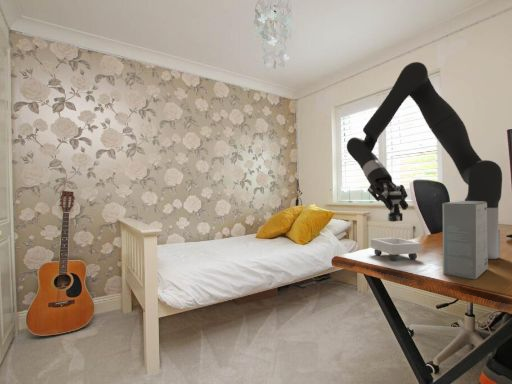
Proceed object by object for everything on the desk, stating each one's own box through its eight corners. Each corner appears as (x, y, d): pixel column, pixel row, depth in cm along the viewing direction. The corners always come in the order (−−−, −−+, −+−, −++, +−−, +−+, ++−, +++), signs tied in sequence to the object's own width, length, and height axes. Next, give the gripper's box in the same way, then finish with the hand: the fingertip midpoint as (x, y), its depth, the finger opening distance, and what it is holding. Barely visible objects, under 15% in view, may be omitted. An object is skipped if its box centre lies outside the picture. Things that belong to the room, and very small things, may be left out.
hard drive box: (456, 263, 88) (457, 200, 87) (488, 269, 82) (488, 201, 82) (441, 273, 77) (442, 202, 77) (476, 280, 72) (476, 203, 71)
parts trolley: (397, 252, 103) (397, 237, 103) (420, 260, 92) (421, 243, 92) (370, 254, 100) (370, 238, 100) (391, 262, 90) (392, 244, 89)
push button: (394, 222, 92) (394, 192, 92) (380, 220, 97) (380, 192, 96) (407, 221, 95) (407, 191, 95) (392, 219, 100) (393, 191, 99)
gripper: (364, 166, 101) (386, 201, 90) (397, 167, 104) (423, 200, 93) (355, 181, 106) (375, 215, 95) (388, 181, 110) (411, 215, 98)
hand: (398, 208), depth 94 cm, fingers closed on push button, 5 cm apart
